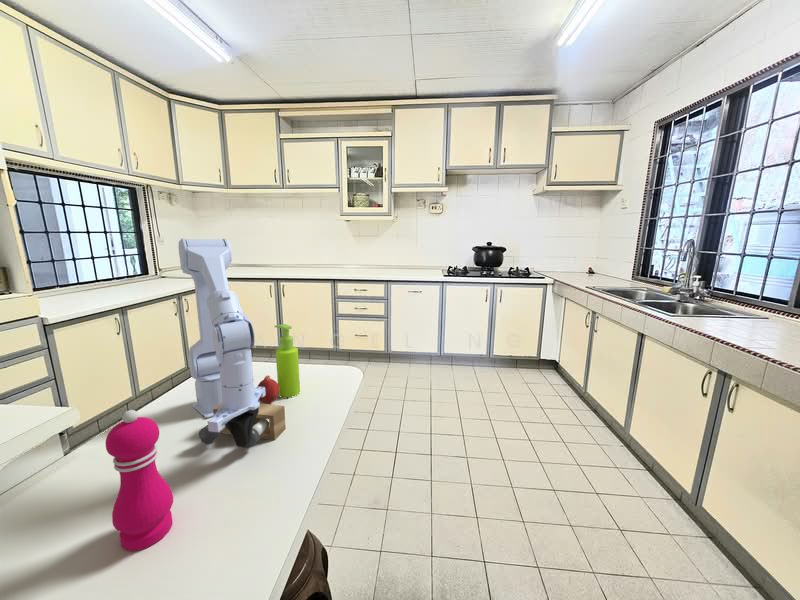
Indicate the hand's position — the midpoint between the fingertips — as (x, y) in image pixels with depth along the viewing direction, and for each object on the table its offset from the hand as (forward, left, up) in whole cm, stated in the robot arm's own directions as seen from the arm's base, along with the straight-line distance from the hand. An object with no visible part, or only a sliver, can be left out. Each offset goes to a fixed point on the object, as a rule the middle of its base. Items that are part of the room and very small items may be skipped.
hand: (242, 444), depth 67 cm
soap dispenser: (-19, +21, -3) cm, 29 cm away
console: (-8, +5, -3) cm, 10 cm away
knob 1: (-10, -1, -2) cm, 10 cm away
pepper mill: (+7, -18, -3) cm, 19 cm away
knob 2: (-2, +4, -1) cm, 5 cm away
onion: (-17, +14, -3) cm, 23 cm away
